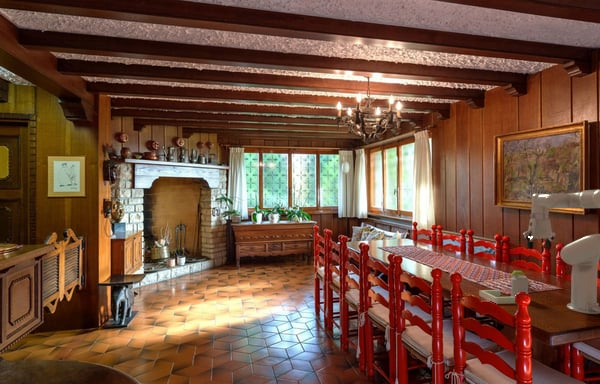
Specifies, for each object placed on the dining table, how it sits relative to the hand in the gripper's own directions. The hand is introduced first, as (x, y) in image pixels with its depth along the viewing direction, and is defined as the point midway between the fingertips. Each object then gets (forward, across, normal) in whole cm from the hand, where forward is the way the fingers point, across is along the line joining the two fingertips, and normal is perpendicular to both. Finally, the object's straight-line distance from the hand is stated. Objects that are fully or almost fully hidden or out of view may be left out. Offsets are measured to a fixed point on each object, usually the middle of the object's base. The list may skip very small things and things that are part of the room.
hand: (539, 248), depth 189 cm
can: (+26, -13, -4) cm, 29 cm away
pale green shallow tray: (+26, -25, -4) cm, 36 cm away
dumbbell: (+26, +5, +22) cm, 35 cm away
